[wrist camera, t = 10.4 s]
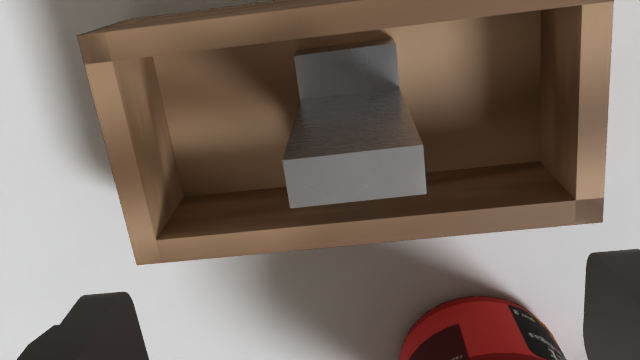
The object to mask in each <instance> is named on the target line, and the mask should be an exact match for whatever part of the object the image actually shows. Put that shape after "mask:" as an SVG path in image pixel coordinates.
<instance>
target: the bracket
mask: <svg viewBox="0 0 640 360" xmlns="http://www.w3.org/2000/svg"><path fill="white" fill-rule="evenodd" d="M294 61H295V68H296V75H297V82H298V88H299V95H300V102H299V105H298V108H297V112H296V115H295V119H294V122H293V126H292V129H291V133H290V136H289V139H288V143H287V146H286V150H285V153H284V157H283V160H282V161H283V168H284V174H285V180H286V186H287V192H288V198H289V205H290V208H299V207H308V206H318V205H327V204H336V203H346V202H355V201H365V200H374V199H384V198H393V197H403V196H412V195H421V194H427V191H426V177H425V164H424V150H423V143H422V141H421V138H420V136H419V133H418V131H417V129H416V126H415V124H414V121H413V119H412V116H411V114H410V112H409V109H408V107H407V104H406V102H405V99H404V97H403V95H402V92H401V90H400V86H399V74H398V63H397V51H396V42H395V41H394V39H393V38H387V39H380V40H372V41H364V42H356V43H348V44H340V45H333V46H325V47H317V48H309V49H301V50H296V52H295V55H294Z"/></svg>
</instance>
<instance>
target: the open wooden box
mask: <svg viewBox="0 0 640 360" xmlns="http://www.w3.org/2000/svg"><path fill="white" fill-rule="evenodd" d="M613 3H614V0H282V1H274V2H266V3H258V4H250V5H242V6H234V7H226V8H218V9H210V10H202V11H194V12H186V13H178V14H170V15H162V16H154V17H146V18H138V19H130V20H125V21H121V22H118V23H115V24H112V25H109V26H106V27H103V28H99V29H96V30H93V31H90V32H87V33H84V34H81V35H78V36H77V38H78V42H79V46H80V50H81V53H82V57H83V61H84V65H85V69H86V73H87V76H88V80H89V84H90V88H91V92H92V96H93V99H94V103H95V107H96V111H97V115H98V119H99V122H100V126H101V130H102V134H103V138H104V142H105V145H106V149H107V153H108V157H109V161H110V165H111V168H112V172H113V176H114V180H115V184H116V188H117V191H118V195H119V199H120V203H121V207H122V211H123V214H124V218H125V222H126V226H127V230H128V234H129V237H130V241H131V245H132V249H133V253H134V257H135V260H136V264H137V265H144V264H155V263H166V262H176V261H187V260H198V259H209V258H220V257H231V256H241V255H252V254H263V253H274V252H285V251H296V250H306V249H317V248H328V247H339V246H350V245H361V244H372V243H382V242H393V241H404V240H415V239H426V238H437V237H447V236H458V235H469V234H480V233H491V232H502V231H512V230H523V229H534V228H545V227H556V226H567V225H578V224H588V223H599V222H603V204H604V184H605V164H606V143H607V123H608V103H609V83H610V63H611V43H612V23H613ZM387 38H393V39H394V41H395V42H396V51H397V63H398V74H399V86H400V90H401V92H402V95H403V97H404V99H405V102H406V104H407V107H408V109H409V112H410V114H411V116H412V119H413V121H414V124H415V126H416V129H417V131H418V133H419V136H420V138H421V141H422V143H423V150H424V164H425V177H426V191H427V194H421V195H412V196H403V197H393V198H384V199H374V200H365V201H355V202H346V203H336V204H327V205H318V206H308V207H299V208H290V205H289V198H288V192H287V186H286V180H285V174H284V168H283V161H282V160H283V157H284V153H285V150H286V146H287V143H288V139H289V136H290V133H291V129H292V126H293V122H294V119H295V115H296V112H297V108H298V105H299V102H300V95H299V88H298V82H297V75H296V68H295V61H294V55H295V52H296V50H301V49H309V48H317V47H325V46H333V45H340V44H348V43H356V42H364V41H372V40H380V39H387Z"/></svg>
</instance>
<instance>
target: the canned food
mask: <svg viewBox="0 0 640 360" xmlns="http://www.w3.org/2000/svg"><path fill="white" fill-rule="evenodd" d="M399 360H566V358H565V357H564V355H563V353H562V351H561V349H560V348H559V346H558V344H557V342H556V340H555V339H554V337H553V335H552V334H551V332H550V331H549V330H548V328H547V327H546V326H545V325H544V324H543V323H542V322H541V321H540V320H539V319H537V318H536V317H535V316H534V315H532V314H531V313H530V312H528V311H527V310H526V309H524V308H522V307H520V306H518V305H517V304H515V303H512V302H509V301H506V300H503V299H500V298H493V297H486V296H480V297H466V298H460V299H455V300H452V301H449V302H446V303H443V304H441V305H439V306H437V307H436V308H434V309H432V310H430V311H429V312H427V313H426V314H425V315H424V316H422V317H421V318H420V319H419V320H418V321H417V322H416V323H415V325H414V326H413V327H412V328H411V329H410V331H409V333H408V335H407V337H406V339H405V341H404V344H403V347H402V350H401V354H400V358H399Z"/></svg>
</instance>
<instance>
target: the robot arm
mask: <svg viewBox="0 0 640 360" xmlns="http://www.w3.org/2000/svg"><path fill="white" fill-rule="evenodd" d="M583 337H584V345H585V350H586V354H587V357H588V360H640V250H639V249H631V250H620V251H608V252H596V253H591V254H590V255H589V257H588V259H587V264H586V281H585V301H584V322H583ZM17 360H149V358H148V354H147V351H146V347H145V344H144V340H143V336H142V333H141V329H140V325H139V322H138V318H137V315H136V311H135V307H134V304H133V301H132V299H131V297H130V295H129V294H128V293H126V292H115V293H104V294H92V295H84V296H82V297H80V298H79V300H78V301H77V302H76V304H75V305H74V306H73V308H72V309H71V310H70V312H69V313H68V314H67V316H66V317H65V318H64V320H63V321H62V322H61V324H60V325H54V326H53V327H51V328H50V329H49V330H47V331H46V332H45V333H43V334H42V335H41V336H39V337H38V338H37V339H35V340H34V341H33V342H31V343H30V344H29V345H28V346H27V347H26V348H25V350H24V351H23V352H22V353H21V355H20V356H19V357H18V359H17Z"/></svg>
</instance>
